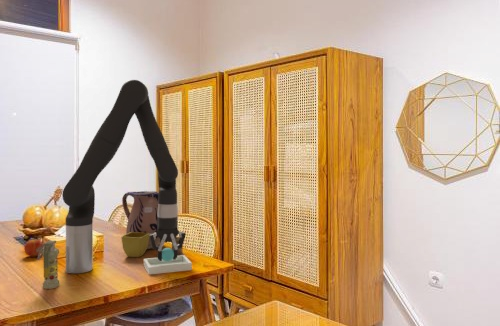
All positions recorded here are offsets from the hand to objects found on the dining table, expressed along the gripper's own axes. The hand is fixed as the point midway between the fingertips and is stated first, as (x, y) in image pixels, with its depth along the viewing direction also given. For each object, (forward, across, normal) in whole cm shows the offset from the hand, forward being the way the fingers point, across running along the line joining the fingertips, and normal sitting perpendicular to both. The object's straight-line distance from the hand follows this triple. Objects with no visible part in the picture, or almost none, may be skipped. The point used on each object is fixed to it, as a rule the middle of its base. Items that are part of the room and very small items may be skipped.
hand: (167, 259), depth 160 cm
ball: (-2, 0, 0) cm, 2 cm away
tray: (+3, 0, 0) cm, 3 cm away
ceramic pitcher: (+3, -4, +35) cm, 35 cm away
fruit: (+3, -48, +34) cm, 59 cm away
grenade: (+3, -41, -8) cm, 42 cm away
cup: (+3, +7, +14) cm, 16 cm away
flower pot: (+3, -9, +21) cm, 23 cm away
